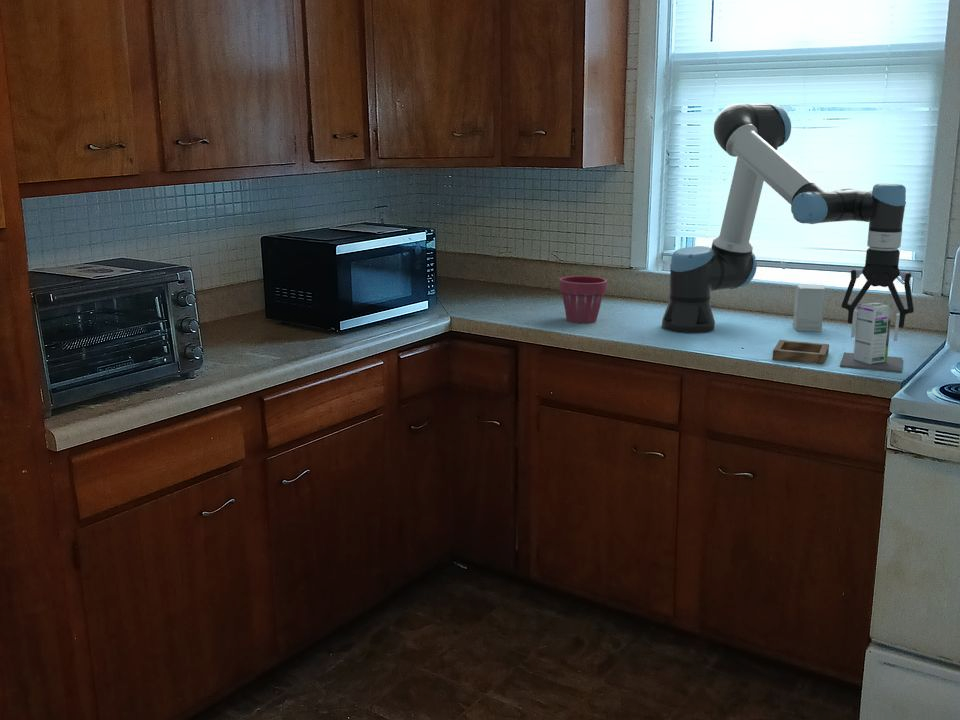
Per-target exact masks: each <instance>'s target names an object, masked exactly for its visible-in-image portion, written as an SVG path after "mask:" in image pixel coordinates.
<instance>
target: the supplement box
mask: <svg viewBox="0 0 960 720" xmlns="http://www.w3.org/2000/svg"><path fill="white" fill-rule="evenodd" d="M794 296H795V297H794V308H793V319H792V326H793V328H794V330H795V331H797V332H817V333H818V332H822V331H823V320H824V310H825V309H824V308H825V300H826V299H825V298H826V297H825V296H826V288H825V286H823V285H822V284H796V285H795V293H794Z"/></svg>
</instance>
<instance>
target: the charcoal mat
mask: <svg viewBox="0 0 960 720" xmlns="http://www.w3.org/2000/svg"><path fill="white" fill-rule="evenodd" d="M853 357H854V352H846V351H845V352H843V354H842V358H841V361H840V364H839V367H840V368H846V367H847V369H858V370H859V369H860V370H867V369H868V371H869V370H870V371H877V370H879V372H890V373H900V374H902V367H903V357H899V356H888V355H887V362H882V363H874V364H866V363H863V362H859V361H856V360H854V359H853Z"/></svg>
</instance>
